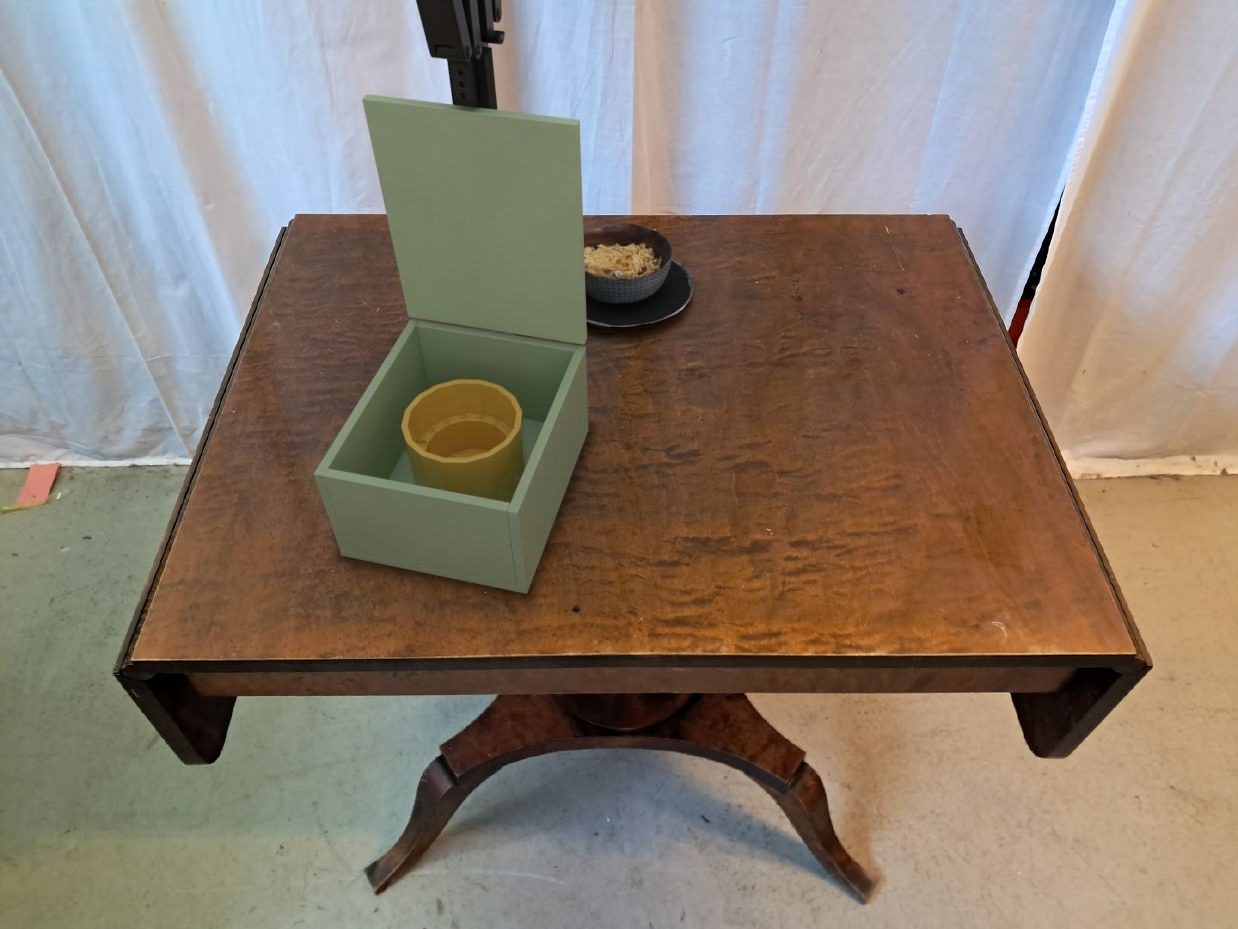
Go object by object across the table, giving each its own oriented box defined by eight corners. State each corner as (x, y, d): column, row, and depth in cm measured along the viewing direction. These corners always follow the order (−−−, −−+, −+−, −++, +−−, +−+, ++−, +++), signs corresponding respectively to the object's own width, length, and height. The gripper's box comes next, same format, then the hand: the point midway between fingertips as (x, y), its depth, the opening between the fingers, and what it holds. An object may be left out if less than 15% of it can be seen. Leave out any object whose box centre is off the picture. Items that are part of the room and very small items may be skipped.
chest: (527, 594, 73) (517, 513, 66) (341, 556, 76) (312, 473, 69) (588, 429, 86) (586, 346, 78) (427, 401, 88) (410, 318, 81)
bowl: (462, 543, 76) (450, 481, 70) (394, 481, 80) (378, 417, 75) (550, 483, 80) (546, 419, 75) (481, 426, 85) (472, 363, 79)
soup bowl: (693, 341, 94) (698, 280, 89) (534, 337, 95) (529, 275, 89) (692, 254, 104) (696, 195, 99) (548, 250, 105) (544, 191, 99)
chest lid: (576, 124, 63) (579, 119, 64) (361, 98, 66) (366, 93, 66) (584, 345, 78) (587, 339, 78) (407, 316, 80) (411, 311, 81)
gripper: (456, -240, 46) (500, 194, 63) (535, -289, 54) (554, 104, 72) (313, -249, 47) (394, 180, 64) (413, -295, 56) (461, 93, 73)
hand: (479, 140), depth 68 cm, fingers closed
